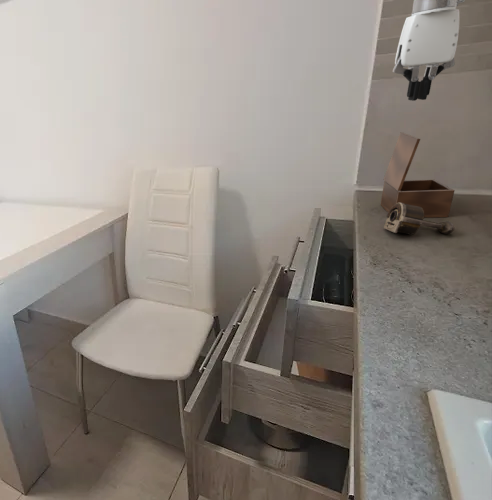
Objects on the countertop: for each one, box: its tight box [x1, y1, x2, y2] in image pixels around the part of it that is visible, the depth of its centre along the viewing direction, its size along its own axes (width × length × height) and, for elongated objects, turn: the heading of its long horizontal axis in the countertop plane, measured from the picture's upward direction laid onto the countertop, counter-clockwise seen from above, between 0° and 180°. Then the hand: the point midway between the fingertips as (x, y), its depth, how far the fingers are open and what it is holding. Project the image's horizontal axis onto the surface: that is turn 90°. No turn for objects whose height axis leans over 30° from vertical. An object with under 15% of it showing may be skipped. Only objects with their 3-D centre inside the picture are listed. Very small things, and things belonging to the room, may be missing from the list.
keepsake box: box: [379, 178, 455, 219], centre depth 93 cm, size 11×10×7 cm
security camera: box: [383, 202, 456, 235], centre depth 81 cm, size 7×13×10 cm
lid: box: [383, 132, 421, 191], centre depth 90 cm, size 12×10×1 cm
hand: (417, 99), depth 84 cm, fingers closed
